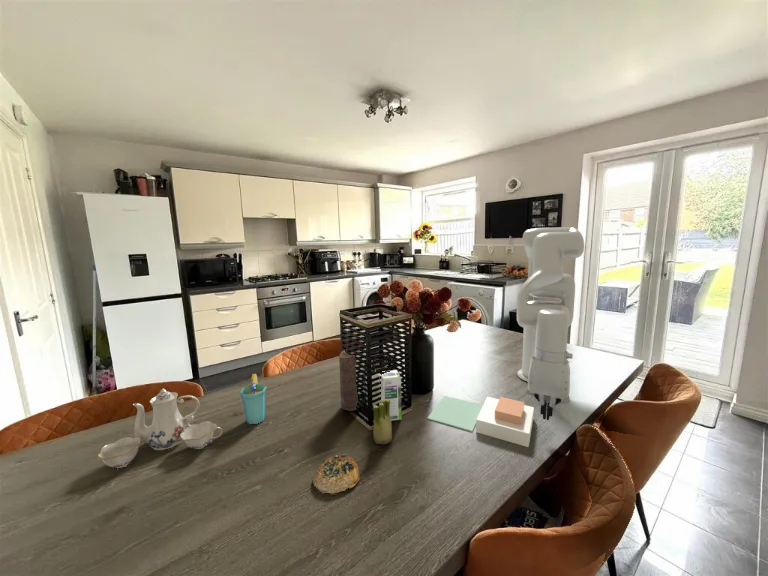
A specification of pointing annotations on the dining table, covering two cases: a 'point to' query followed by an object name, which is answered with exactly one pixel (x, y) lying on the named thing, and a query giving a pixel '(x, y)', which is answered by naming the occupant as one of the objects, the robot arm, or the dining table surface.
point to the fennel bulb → (382, 423)
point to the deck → (504, 424)
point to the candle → (348, 381)
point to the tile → (509, 410)
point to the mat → (456, 413)
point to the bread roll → (336, 474)
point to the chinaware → (160, 430)
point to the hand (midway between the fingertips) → (546, 417)
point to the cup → (254, 401)
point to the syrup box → (392, 393)
